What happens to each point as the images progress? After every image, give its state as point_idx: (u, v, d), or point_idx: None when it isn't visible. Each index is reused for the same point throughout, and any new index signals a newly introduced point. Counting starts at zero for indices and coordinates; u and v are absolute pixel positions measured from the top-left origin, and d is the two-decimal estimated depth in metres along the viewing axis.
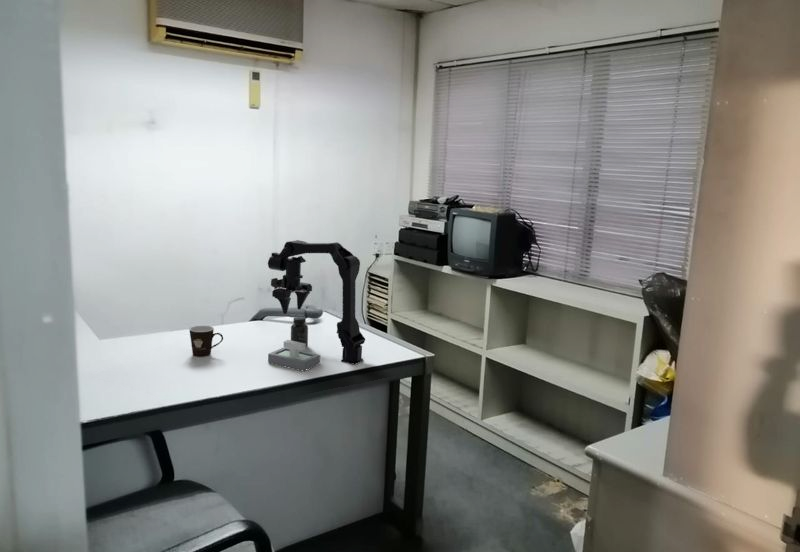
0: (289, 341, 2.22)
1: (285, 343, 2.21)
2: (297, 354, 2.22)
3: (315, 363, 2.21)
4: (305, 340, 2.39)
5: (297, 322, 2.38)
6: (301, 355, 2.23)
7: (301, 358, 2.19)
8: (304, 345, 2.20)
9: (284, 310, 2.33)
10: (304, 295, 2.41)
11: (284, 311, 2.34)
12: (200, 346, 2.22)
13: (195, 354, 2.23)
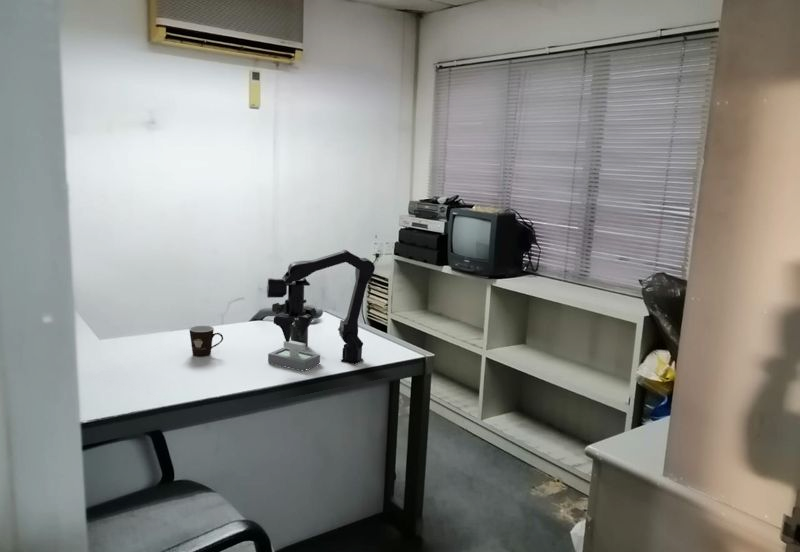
0: (289, 341, 2.22)
1: (285, 343, 2.21)
2: (297, 354, 2.22)
3: (315, 363, 2.21)
4: (305, 340, 2.39)
5: (297, 322, 2.38)
6: (301, 355, 2.23)
7: (301, 358, 2.19)
8: (304, 345, 2.20)
9: (286, 338, 2.16)
10: (308, 321, 2.23)
11: (286, 339, 2.16)
12: (200, 346, 2.22)
13: (195, 354, 2.23)
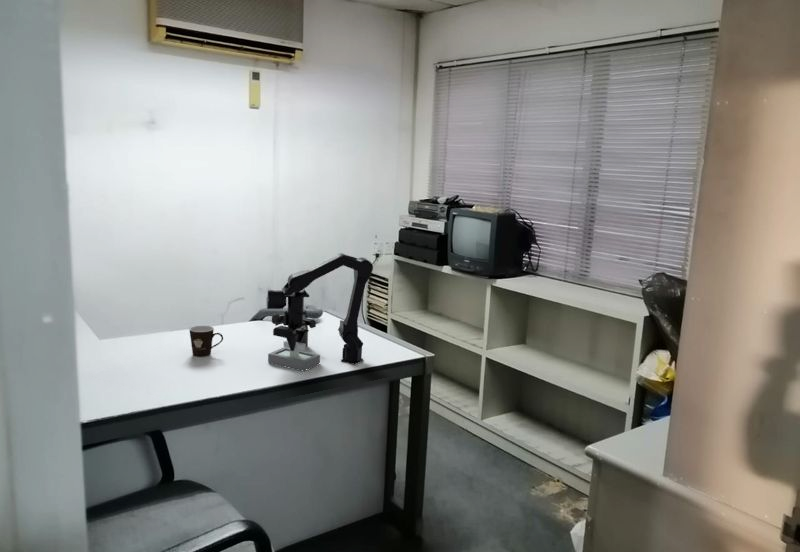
0: None
1: (285, 343, 2.21)
2: (297, 354, 2.22)
3: (315, 363, 2.21)
4: (305, 340, 2.39)
5: None
6: (301, 355, 2.23)
7: (301, 358, 2.19)
8: (304, 345, 2.20)
9: (291, 347, 2.19)
10: (302, 334, 2.21)
11: (291, 348, 2.20)
12: (200, 346, 2.22)
13: (195, 354, 2.23)
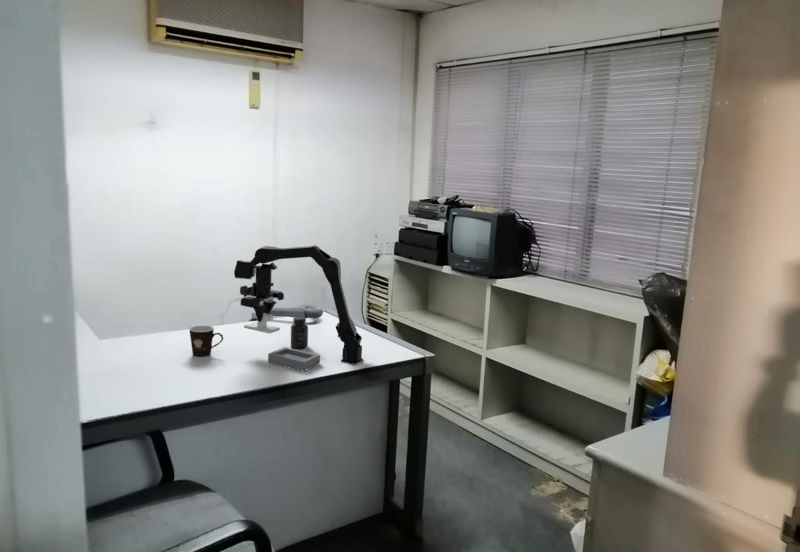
0: None
1: (253, 314, 2.27)
2: (265, 325, 2.27)
3: (315, 363, 2.21)
4: (305, 340, 2.39)
5: (297, 322, 2.38)
6: (269, 326, 2.28)
7: (268, 328, 2.25)
8: (272, 316, 2.26)
9: (259, 318, 2.25)
10: (270, 305, 2.27)
11: (259, 319, 2.25)
12: (200, 346, 2.22)
13: (195, 354, 2.23)
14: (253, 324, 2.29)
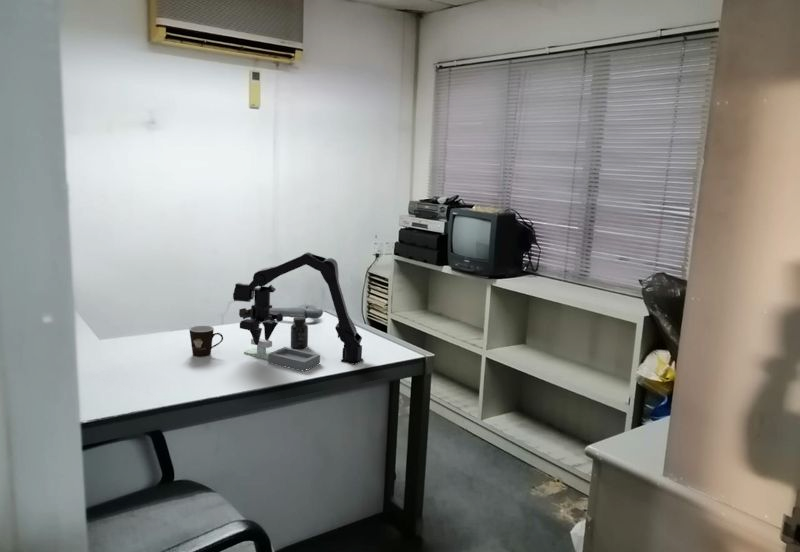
0: None
1: (252, 340, 2.30)
2: (264, 351, 2.30)
3: (315, 363, 2.21)
4: (305, 340, 2.39)
5: (297, 322, 2.38)
6: (268, 352, 2.31)
7: (267, 355, 2.27)
8: (271, 343, 2.28)
9: (255, 341, 2.26)
10: (272, 326, 2.30)
11: (255, 342, 2.26)
12: (200, 346, 2.22)
13: (195, 354, 2.23)
14: (253, 350, 2.32)
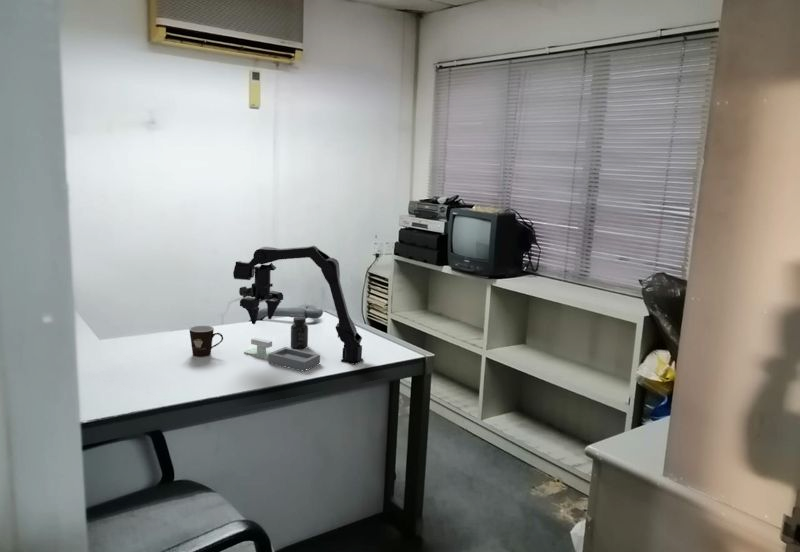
0: (256, 339, 2.30)
1: (252, 340, 2.30)
2: (264, 351, 2.30)
3: (315, 363, 2.21)
4: (305, 340, 2.39)
5: (297, 322, 2.38)
6: (268, 352, 2.31)
7: (267, 355, 2.27)
8: (271, 343, 2.28)
9: (253, 320, 2.23)
10: (275, 304, 2.30)
11: (253, 321, 2.23)
12: (200, 346, 2.22)
13: (195, 354, 2.23)
14: (253, 350, 2.32)
